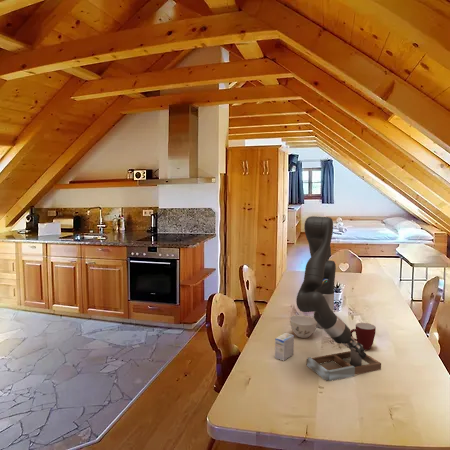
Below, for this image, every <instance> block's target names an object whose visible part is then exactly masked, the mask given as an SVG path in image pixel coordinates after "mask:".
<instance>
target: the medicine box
mask: <svg viewBox="0 0 450 450" xmlns="http://www.w3.org/2000/svg"><path fill="white" fill-rule="evenodd" d="M274 340H275V341H274V359H276V358H277V359H276V360H278V359H280V360H279V361H281V360H283V361H282V362H285V361H286V360H287V358H288V359H289V358H290V357H292V356H294V347H295V346H294V345H295V344H294V343H295V335H293V334H292V333H287V332H284V333H283V334H281V335H279V336H277V337H276V338H275V339H274ZM284 360H285V361H284Z"/></svg>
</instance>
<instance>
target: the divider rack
mask: <svg viewBox="0 0 450 450" xmlns="http://www.w3.org/2000/svg"><path fill="white" fill-rule="evenodd" d="M350 353H351V350H348V351H342V352H338V353H333V354H332V353H331V354H326V355H321V356H316V357H311V356H309V357H307V358H306V360H305V363H306V367H308V368H309V369H310V368H311V369H312V370H311V369H310V370H311V371H313V372H314V373H315V372H316V373H317V376H319V377H320V376H321V377H322V378H321V377H320V378H321V379H322V380H324V381H325V380H326V382H328V381H327V380H329V382H333V381H337V379H338V380H341V379H342V380H343V379H347V378H353V377H355V376H356V375H361V374H366V373H369V372H375V371H380V370H381V369H382V362H380V361H378V360H377V359H375V358H374V357H372V356H370V355H368V354H367V355H366V357H365V358H364V359H363V358H362V361H364V362H365V363H367V364H362V366H357V367H354V366H352V365H350V362H347V361H346V360H347V359H350ZM331 361H332V362H334V363H335V362H336V363H335V364H337V365H338V366H340V368H334V369H333V368H332V369H330V370H329V369H327V368H325V367H324V366H323V365H321V364H320V363H322V364H325V363H324V362H327V363H330V362H331ZM332 362H331V363H332ZM342 367H343V368H342ZM332 380H333V381H332Z"/></svg>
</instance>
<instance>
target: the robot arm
mask: <svg viewBox="0 0 450 450" xmlns="http://www.w3.org/2000/svg"><path fill="white" fill-rule="evenodd" d="M333 231H334V220H333V218H331V217H329V216H318V215H317V216H315V215H314V216H313V215H312V216H308V217H307V218H306V219H305V222H304V234H305V238H306V240H307V242H308V248H309V253H310V258H309V259H308V260H307V263H306V265H305V270H304V277H303V281H302V283H301V286H300V288H299V290H298V293H297V294H296V295H297V296H296V300H295V301H296V306H297V309H298V310H299V311H300V312H302V313H311V312H312V313H313V316H312V318H314V319H315V320H316V322H317V325H316V328H320V329H323V331H324V332H325V333H326V334H327V335H328V336H329V338H331V339H332V340H333V341H334V342H335V343H336V344H339V345H340V344H342V345H343V346H345V348H348V349H349V351H351V350H353V351H355V352H356V353H357V354H358V355H359V356H360V357H361V358H363V359H364V358H365V357H366V355H368V354H367V353H366V352H365V351H366V350H364V348H363V347H362V346H361V344H360V343H357V341H355V340H354V338H355V337H352V336H353V335H352V336H351V330H352V329H350V328H349V326H348V325H347V324H346V323H345V322H344V321H343V320H342V319H341V318H340V317H339V316H338V315H337V314H336V313H335V312H334V311H335V309H334V307H335V305H334V304H335V281H336V261H334V260H330V259H331V256H332V248H331V247H332V246H331V243H332V239H333V238H332V237H333ZM323 279H328V281H327V282H325V283H323ZM314 291H315V292H314ZM352 347H353V348H352Z"/></svg>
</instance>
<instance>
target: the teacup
mask: <svg viewBox="0 0 450 450" xmlns="http://www.w3.org/2000/svg"><path fill="white" fill-rule="evenodd" d="M289 324H290V327H291V330H292V332H293V333H294V334H295V336H297V338H298V337H299V338H301V339H307V338H309V337H310V336H311V335H312V334H314V332H315V330H316V328H317V327H316V325H317V322H316V320H315V319H314V318H313V317H312V316H310V315H301V314H300V315H299V314H294V315H291V316H290V317H289Z"/></svg>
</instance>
